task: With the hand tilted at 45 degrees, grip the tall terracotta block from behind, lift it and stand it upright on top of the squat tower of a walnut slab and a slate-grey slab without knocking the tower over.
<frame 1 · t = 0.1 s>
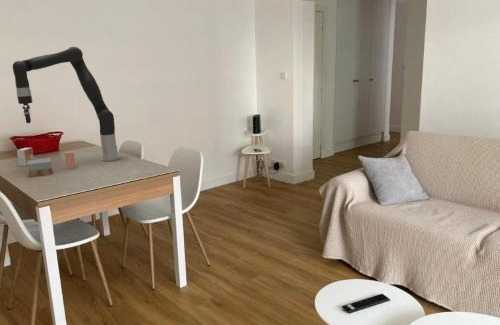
hand: (28, 122, 255), 29 cm above the table, tool pointing down, fingers open, 8 cm apart
terracotta block: (71, 167, 262), on the table
slate-grey slab: (40, 167, 249), point 4 cm above the table, touching walnut slab
walnut slab: (41, 174, 250), on the table, touching slate-grey slab
small box: (27, 164, 276), on the table
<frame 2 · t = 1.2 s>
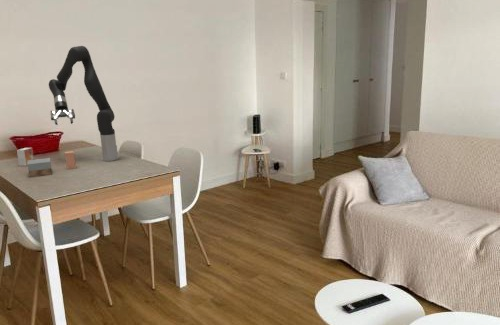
hand: (64, 123, 267), 26 cm above the table, tool tilted 45°, fingers open, 8 cm apart
nothing on the table moved.
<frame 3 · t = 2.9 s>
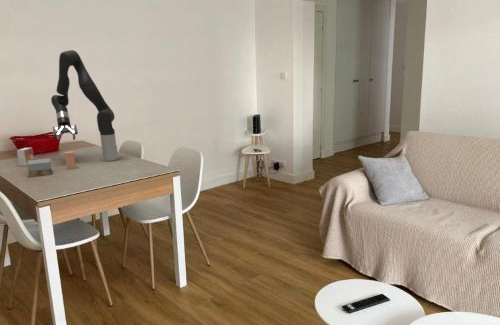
hand: (66, 139, 267), 16 cm above the table, tool tilted 45°, fingers open, 8 cm apart
nothing on the table moved.
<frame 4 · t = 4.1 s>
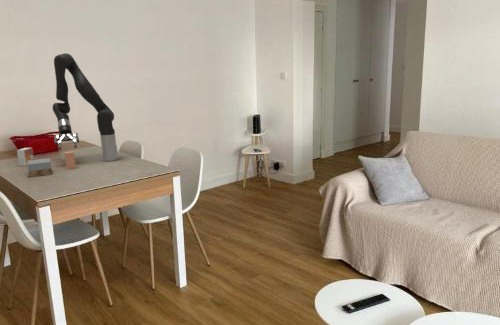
hand: (68, 148, 263), 12 cm above the table, tool tilted 45°, fingers open, 8 cm apart
slate-grey slab: (40, 167, 249), point 3 cm above the table
walnut slab: (41, 174, 250), on the table
everything else where it was.
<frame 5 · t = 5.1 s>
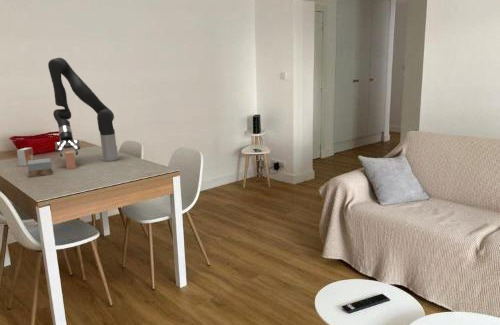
hand: (69, 155, 261), 8 cm above the table, tool tilted 45°, fingers open, 8 cm apart
slate-grey slab: (40, 167, 249), point 4 cm above the table, touching walnut slab
walnut slab: (40, 174, 250), on the table, touching slate-grey slab
everything else where it was.
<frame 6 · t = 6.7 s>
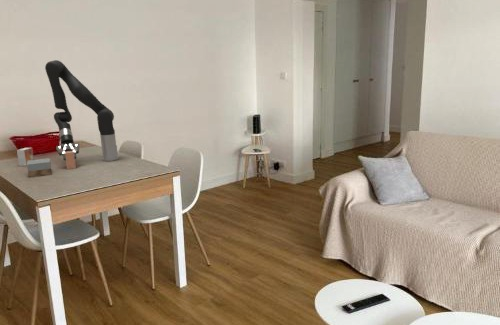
hand: (70, 159, 260), 6 cm above the table, tool tilted 45°, fingers closed on terracotta block, 5 cm apart
terracotta block: (71, 167, 262), on the table, touching gripper
everything else where it was.
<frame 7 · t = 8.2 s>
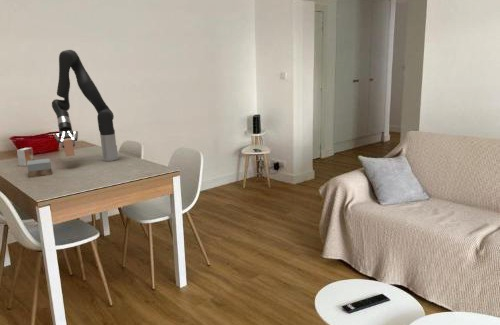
hand: (68, 146, 258), 14 cm above the table, tool tilted 45°, fingers closed on terracotta block, 5 cm apart
terracotta block: (70, 155, 260), point 8 cm above the table, touching gripper
everything else where it was.
when the fingers open (15 cm above the table, at t = 12.9 s): terracotta block drops 1 cm, point 8 cm above the table.
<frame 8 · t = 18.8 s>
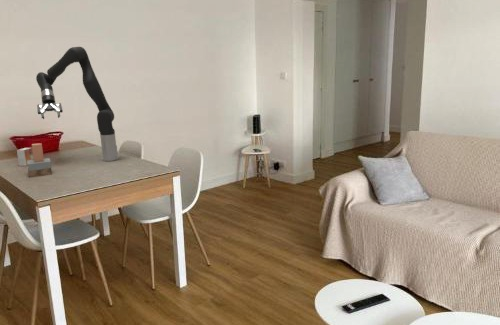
hand: (51, 117, 263), 31 cm above the table, tool tilted 45°, fingers open, 8 cm apart
terracotta block: (38, 160, 249), point 8 cm above the table
everything else where it was.
at the end: terracotta block inside the target area on the walnut slab (0.4 cm from its centre), point 8.1 cm above the walnut slab's base; terracotta block tilted 1°; slate-grey slab moved 0.7 cm from its start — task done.
